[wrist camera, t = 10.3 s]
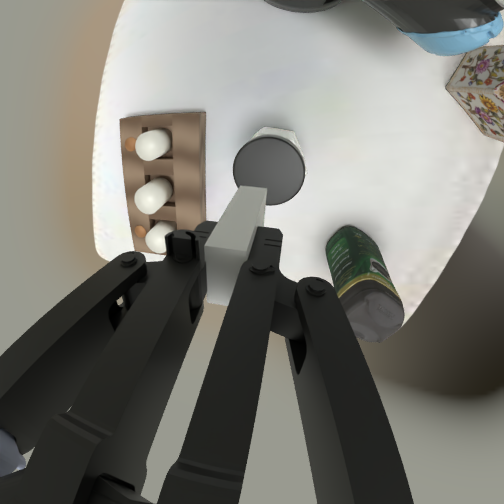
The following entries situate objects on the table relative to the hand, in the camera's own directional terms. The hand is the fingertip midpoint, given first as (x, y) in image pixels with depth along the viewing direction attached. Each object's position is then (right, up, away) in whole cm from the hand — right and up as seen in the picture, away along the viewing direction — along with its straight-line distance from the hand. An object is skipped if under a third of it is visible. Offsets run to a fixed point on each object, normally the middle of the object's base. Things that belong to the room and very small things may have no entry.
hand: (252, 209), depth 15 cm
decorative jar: (+38, +25, +11) cm, 47 cm away
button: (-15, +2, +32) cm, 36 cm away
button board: (-15, +9, +29) cm, 34 cm away
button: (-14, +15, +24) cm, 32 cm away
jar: (+4, +13, +24) cm, 27 cm away
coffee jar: (+18, -2, +30) cm, 35 cm away
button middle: (-15, +8, +27) cm, 32 cm away
